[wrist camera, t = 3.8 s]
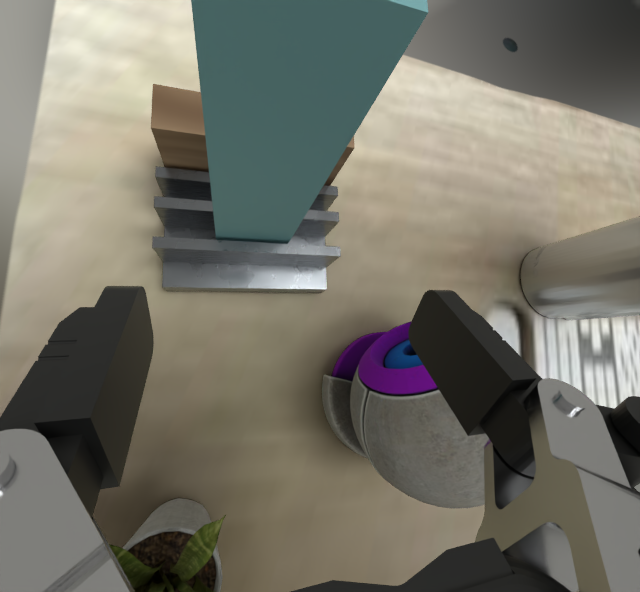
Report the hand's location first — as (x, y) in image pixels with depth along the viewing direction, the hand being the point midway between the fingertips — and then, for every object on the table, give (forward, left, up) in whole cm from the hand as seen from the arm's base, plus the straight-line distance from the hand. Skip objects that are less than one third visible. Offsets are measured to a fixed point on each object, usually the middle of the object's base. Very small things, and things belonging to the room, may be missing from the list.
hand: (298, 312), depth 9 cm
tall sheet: (+4, -7, -19) cm, 20 cm away
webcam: (-14, -1, -21) cm, 25 cm away
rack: (+6, -9, -21) cm, 23 cm away
